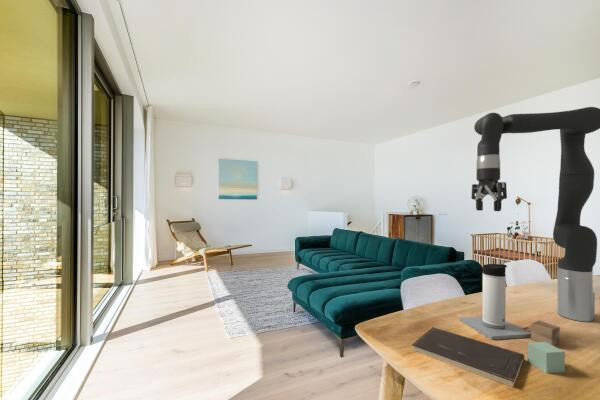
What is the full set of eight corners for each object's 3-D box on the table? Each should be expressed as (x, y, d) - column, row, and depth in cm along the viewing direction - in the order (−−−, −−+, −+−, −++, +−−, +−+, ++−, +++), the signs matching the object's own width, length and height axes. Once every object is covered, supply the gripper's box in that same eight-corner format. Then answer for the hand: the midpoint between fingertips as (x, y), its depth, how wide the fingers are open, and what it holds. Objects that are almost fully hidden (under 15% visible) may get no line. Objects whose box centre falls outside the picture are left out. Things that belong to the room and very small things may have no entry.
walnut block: (539, 336, 89) (539, 320, 89) (559, 343, 84) (559, 326, 84) (530, 340, 87) (530, 323, 87) (551, 347, 82) (551, 330, 82)
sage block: (545, 360, 75) (545, 341, 75) (564, 372, 70) (564, 351, 70) (527, 362, 75) (527, 342, 75) (546, 373, 70) (546, 352, 70)
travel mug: (510, 330, 91) (510, 266, 91) (487, 328, 92) (487, 265, 92) (500, 322, 97) (501, 262, 97) (479, 320, 98) (479, 261, 98)
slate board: (495, 318, 102) (495, 315, 102) (532, 337, 88) (532, 333, 88) (459, 320, 100) (459, 317, 100) (491, 339, 86) (491, 336, 86)
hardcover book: (513, 390, 64) (513, 380, 64) (412, 352, 80) (412, 344, 80) (524, 362, 75) (524, 353, 75) (433, 333, 92) (433, 326, 92)
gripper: (513, 165, 102) (513, 211, 102) (482, 170, 116) (482, 210, 116) (494, 165, 101) (494, 211, 101) (465, 169, 115) (465, 210, 115)
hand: (488, 210), depth 109 cm, fingers open, 8 cm apart
